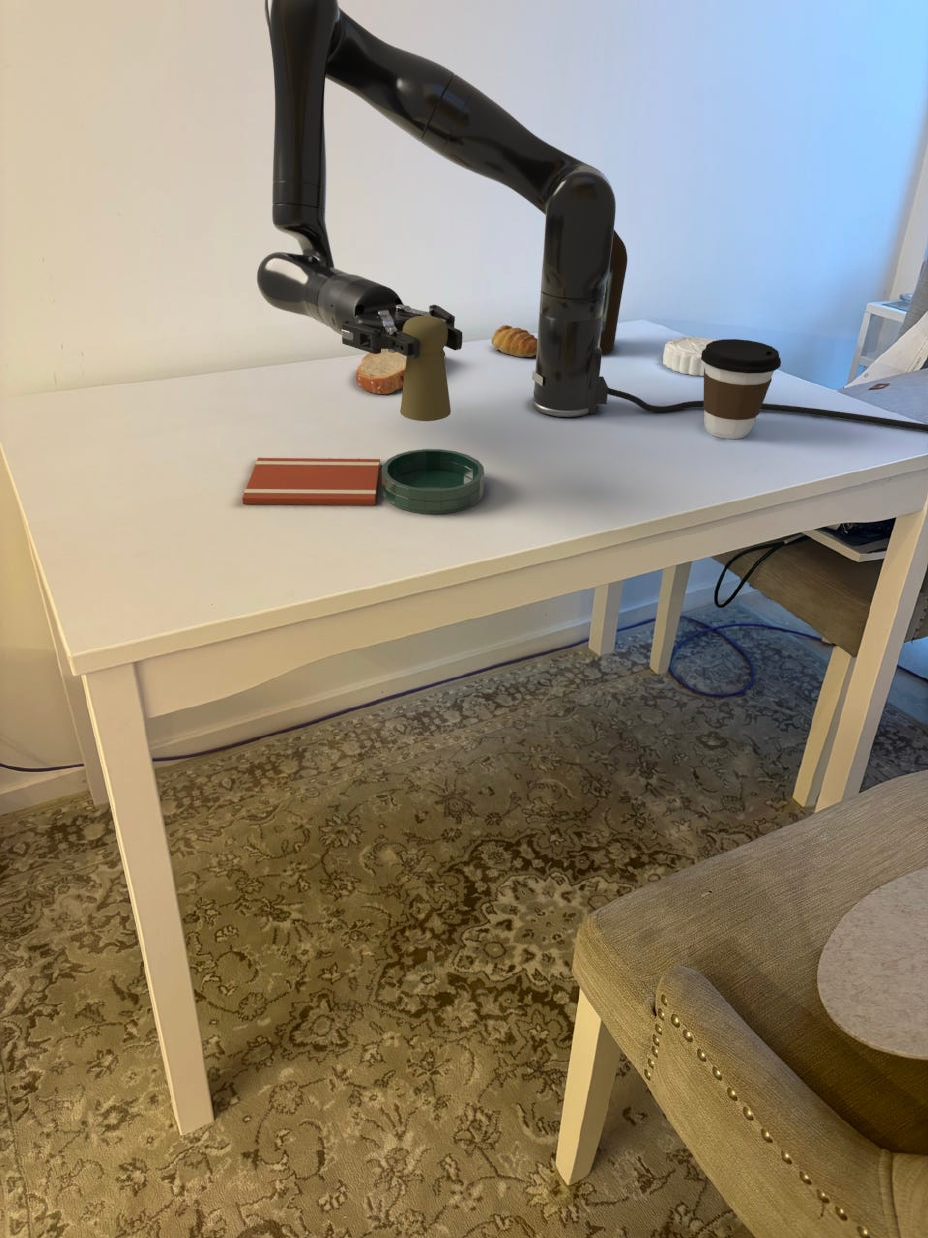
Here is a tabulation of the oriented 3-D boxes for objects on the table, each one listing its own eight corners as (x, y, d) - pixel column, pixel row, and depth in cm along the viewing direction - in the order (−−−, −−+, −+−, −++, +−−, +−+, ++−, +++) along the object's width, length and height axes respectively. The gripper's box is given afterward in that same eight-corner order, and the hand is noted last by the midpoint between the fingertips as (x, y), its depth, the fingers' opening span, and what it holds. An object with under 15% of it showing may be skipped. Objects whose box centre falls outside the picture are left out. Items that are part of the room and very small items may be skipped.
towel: (380, 464, 121) (379, 458, 120) (375, 505, 111) (375, 498, 110) (258, 463, 120) (257, 456, 120) (242, 504, 110) (241, 497, 110)
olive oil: (565, 336, 171) (577, 191, 157) (621, 343, 168) (639, 195, 154) (552, 353, 162) (564, 200, 148) (611, 360, 160) (629, 205, 146)
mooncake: (739, 377, 153) (744, 356, 151) (668, 375, 153) (671, 354, 151) (723, 355, 163) (727, 335, 161) (657, 353, 163) (660, 333, 161)
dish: (480, 470, 120) (481, 449, 118) (485, 514, 109) (486, 491, 108) (384, 469, 119) (384, 448, 118) (380, 513, 109) (379, 490, 107)
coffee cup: (770, 425, 136) (788, 344, 129) (757, 451, 127) (776, 366, 121) (697, 412, 139) (711, 333, 133) (680, 436, 131) (694, 353, 124)
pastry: (550, 354, 162) (552, 332, 160) (525, 362, 158) (526, 340, 156) (512, 341, 167) (513, 320, 165) (486, 349, 163) (487, 328, 161)
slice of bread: (368, 397, 142) (367, 373, 139) (334, 362, 155) (333, 340, 153) (474, 383, 148) (474, 361, 146) (432, 351, 161) (432, 330, 159)
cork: (399, 402, 111) (397, 310, 105) (449, 402, 111) (450, 310, 105) (400, 421, 106) (398, 326, 100) (452, 420, 106) (453, 325, 100)
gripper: (306, 286, 108) (383, 321, 96) (407, 271, 115) (490, 301, 104) (311, 349, 112) (385, 390, 101) (408, 330, 119) (488, 366, 108)
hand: (438, 345), depth 102 cm, fingers closed on cork, 5 cm apart
